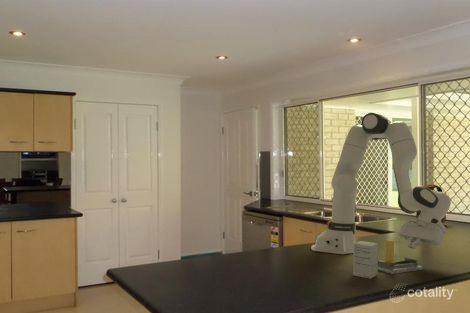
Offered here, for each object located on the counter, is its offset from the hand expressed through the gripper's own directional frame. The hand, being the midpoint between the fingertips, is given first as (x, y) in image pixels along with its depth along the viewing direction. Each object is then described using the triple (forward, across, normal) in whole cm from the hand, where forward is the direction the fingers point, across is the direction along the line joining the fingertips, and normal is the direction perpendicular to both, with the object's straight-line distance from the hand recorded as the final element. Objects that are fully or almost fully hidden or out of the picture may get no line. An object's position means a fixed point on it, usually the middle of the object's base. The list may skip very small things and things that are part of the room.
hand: (410, 247), depth 183 cm
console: (+11, 0, 0) cm, 11 cm away
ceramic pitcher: (-81, -86, +93) cm, 150 cm away
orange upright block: (+14, 0, -4) cm, 15 cm away
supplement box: (+26, +2, -14) cm, 30 cm away
